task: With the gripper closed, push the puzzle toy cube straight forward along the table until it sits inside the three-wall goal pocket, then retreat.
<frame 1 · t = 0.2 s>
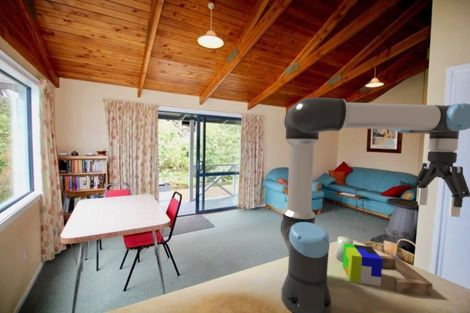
hand: (436, 210, 79), 28 cm above the kitchen counter, fingers open, 13 cm apart
sage tumbler: (343, 259, 96), on the kitchen counter
puzzle toy: (360, 276, 84), on the kitchen counter
goal pocket: (395, 277, 83), on the kitchen counter
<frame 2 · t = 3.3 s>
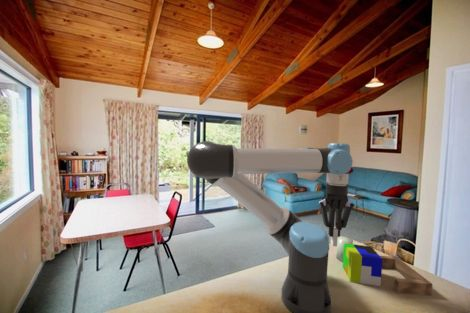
hand: (333, 244, 84), 12 cm above the kitchen counter, fingers closed
nothing on the kitchen counter moved.
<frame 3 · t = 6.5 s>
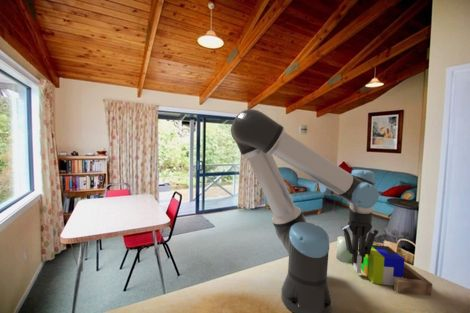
hand: (357, 270, 84), 2 cm above the kitchen counter, fingers closed
puzzle toy: (379, 277, 84), on the kitchen counter, touching hand
everything else where it was.
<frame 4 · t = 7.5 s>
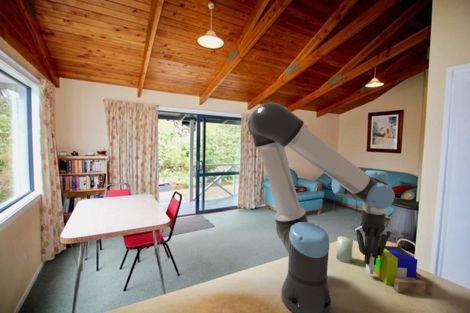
hand: (369, 272, 84), 2 cm above the kitchen counter, fingers closed
puzzle toy: (391, 277, 84), on the kitchen counter, touching goal pocket, hand
everything else where it was.
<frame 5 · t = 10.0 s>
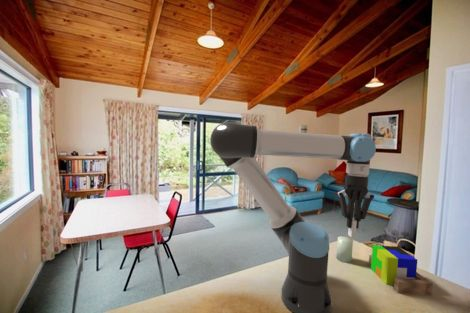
hand: (351, 236, 83), 15 cm above the kitchen counter, fingers closed
puzzle toy: (391, 277, 84), on the kitchen counter
everything else where it was.
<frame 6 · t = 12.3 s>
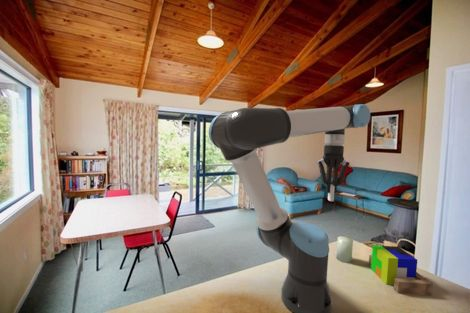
hand: (330, 200, 93), 26 cm above the kitchen counter, fingers closed
nothing on the kitchen counter moved.
at the end: puzzle toy inside the target area (0.6 cm from its centre), on the kitchen counter; puzzle toy tilted 0°; sage tumbler moved 0.0 cm from its start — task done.
